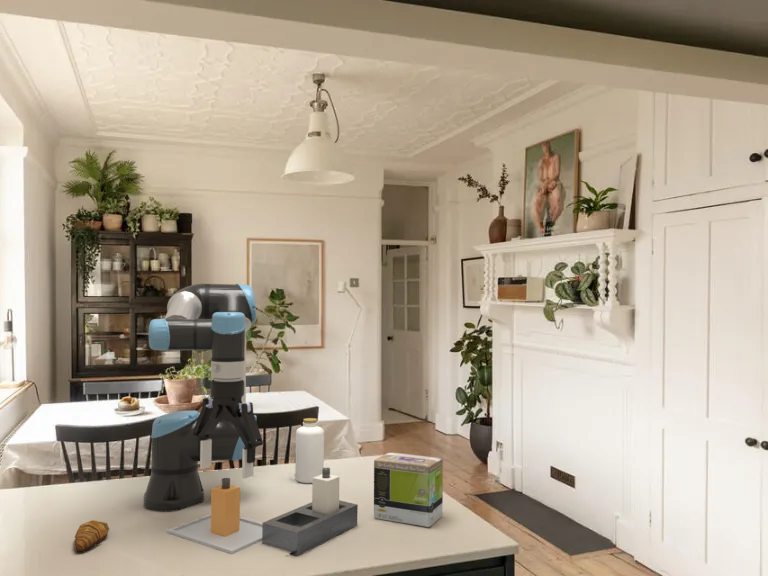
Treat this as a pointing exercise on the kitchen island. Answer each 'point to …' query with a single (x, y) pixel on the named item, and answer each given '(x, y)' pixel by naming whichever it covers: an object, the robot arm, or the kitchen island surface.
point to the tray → (231, 544)
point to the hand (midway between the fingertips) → (226, 472)
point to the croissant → (90, 535)
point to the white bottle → (309, 451)
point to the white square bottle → (325, 492)
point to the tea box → (408, 488)
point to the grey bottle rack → (308, 527)
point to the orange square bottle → (225, 509)
